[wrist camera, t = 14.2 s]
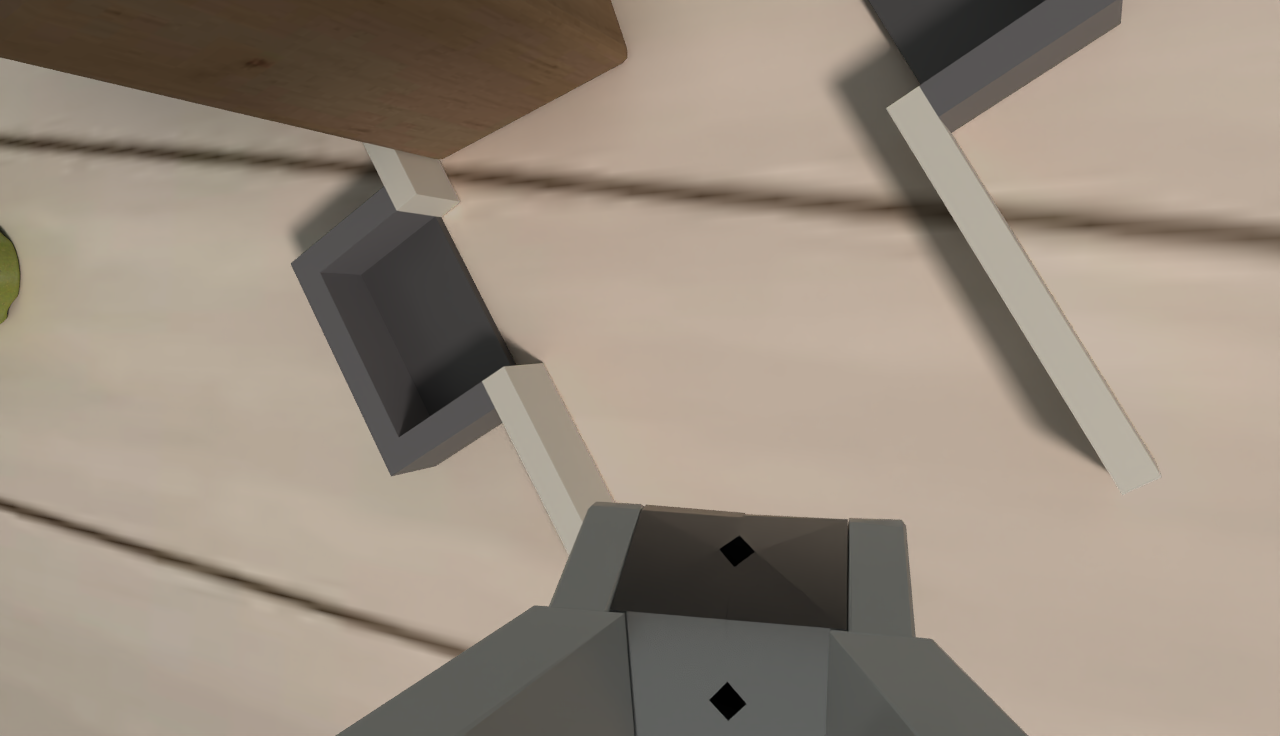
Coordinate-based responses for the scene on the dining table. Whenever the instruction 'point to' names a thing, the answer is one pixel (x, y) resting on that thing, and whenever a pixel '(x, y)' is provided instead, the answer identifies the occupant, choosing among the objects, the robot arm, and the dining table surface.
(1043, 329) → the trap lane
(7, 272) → the plant pot
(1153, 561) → the dining table surface
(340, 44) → the wooden block
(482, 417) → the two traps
